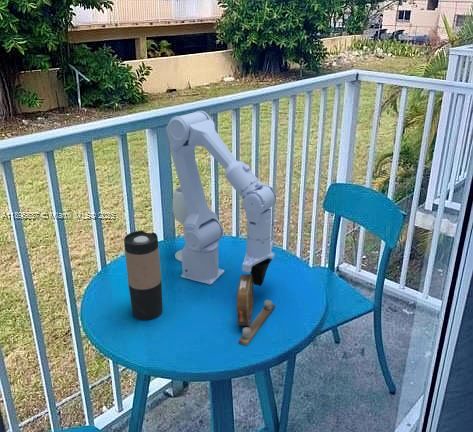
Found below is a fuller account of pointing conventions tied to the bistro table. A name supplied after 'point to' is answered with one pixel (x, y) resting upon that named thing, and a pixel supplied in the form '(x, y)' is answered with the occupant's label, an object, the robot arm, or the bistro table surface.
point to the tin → (245, 299)
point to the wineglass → (179, 213)
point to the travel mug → (144, 274)
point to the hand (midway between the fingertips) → (258, 283)
